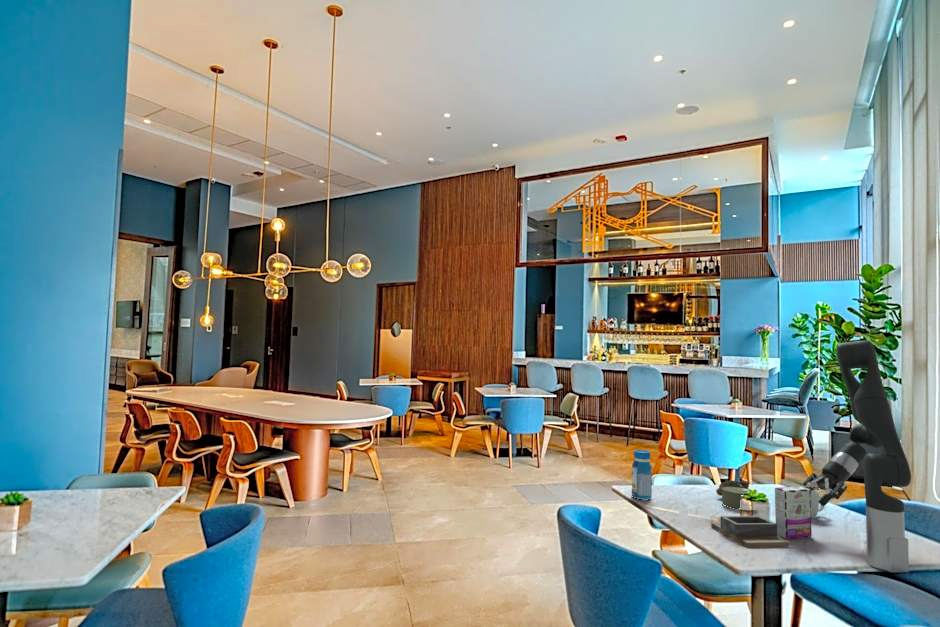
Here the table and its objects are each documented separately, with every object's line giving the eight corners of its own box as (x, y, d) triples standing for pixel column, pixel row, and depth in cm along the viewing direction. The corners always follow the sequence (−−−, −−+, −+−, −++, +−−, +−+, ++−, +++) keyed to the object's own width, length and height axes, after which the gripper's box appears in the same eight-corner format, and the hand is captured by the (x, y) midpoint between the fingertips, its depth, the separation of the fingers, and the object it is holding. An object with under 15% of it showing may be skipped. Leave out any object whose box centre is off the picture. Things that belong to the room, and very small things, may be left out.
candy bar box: (799, 532, 190) (799, 485, 191) (812, 537, 185) (811, 489, 186) (774, 534, 187) (774, 486, 188) (786, 539, 182) (785, 490, 183)
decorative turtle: (756, 500, 232) (755, 482, 232) (726, 504, 228) (726, 486, 228) (739, 493, 241) (738, 476, 241) (711, 497, 237) (710, 479, 237)
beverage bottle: (645, 502, 223) (646, 453, 225) (627, 497, 230) (628, 450, 231) (655, 498, 229) (656, 451, 230) (637, 494, 235) (638, 448, 237)
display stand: (789, 546, 175) (789, 529, 175) (747, 547, 173) (747, 530, 173) (749, 526, 195) (749, 511, 195) (711, 527, 193) (711, 511, 193)
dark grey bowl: (715, 503, 225) (715, 487, 226) (737, 501, 229) (737, 485, 230) (738, 511, 214) (738, 494, 214) (760, 509, 218) (760, 492, 219)
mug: (804, 520, 206) (804, 493, 206) (787, 512, 215) (786, 487, 215) (833, 519, 208) (833, 493, 209) (814, 512, 217) (814, 487, 217)
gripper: (817, 456, 197) (789, 487, 195) (850, 464, 183) (820, 498, 181) (830, 470, 197) (803, 502, 195) (864, 480, 183) (834, 514, 181)
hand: (811, 500), depth 188 cm, fingers open, 8 cm apart
